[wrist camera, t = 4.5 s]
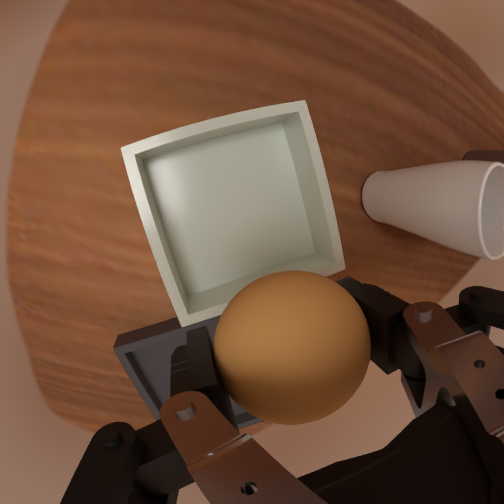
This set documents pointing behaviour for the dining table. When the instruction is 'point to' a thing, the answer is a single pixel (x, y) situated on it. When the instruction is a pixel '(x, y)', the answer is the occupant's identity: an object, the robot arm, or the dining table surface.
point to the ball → (292, 347)
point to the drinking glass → (443, 204)
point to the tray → (162, 362)
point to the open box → (234, 204)
